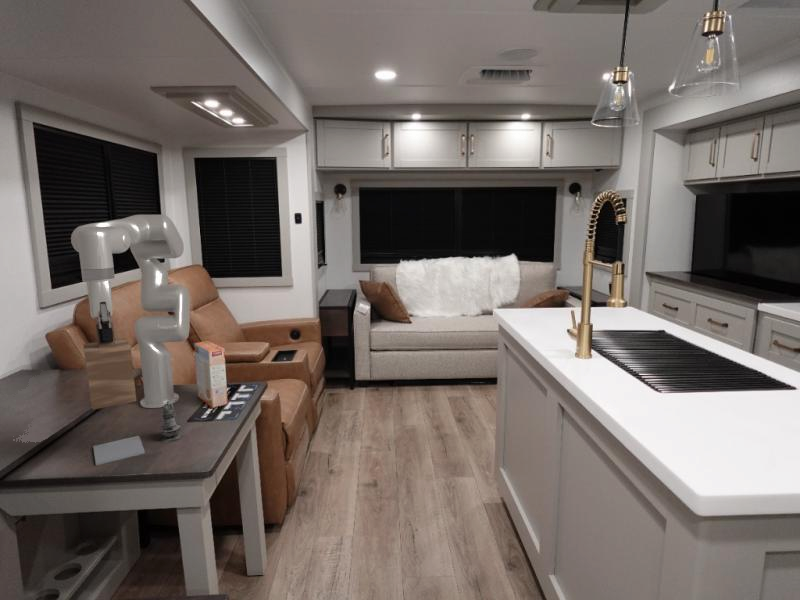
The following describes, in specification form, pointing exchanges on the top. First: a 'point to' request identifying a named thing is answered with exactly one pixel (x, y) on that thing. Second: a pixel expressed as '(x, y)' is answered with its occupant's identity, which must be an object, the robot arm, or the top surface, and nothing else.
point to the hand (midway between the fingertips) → (106, 339)
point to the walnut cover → (109, 372)
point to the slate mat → (118, 450)
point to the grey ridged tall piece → (169, 424)
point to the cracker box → (211, 373)
